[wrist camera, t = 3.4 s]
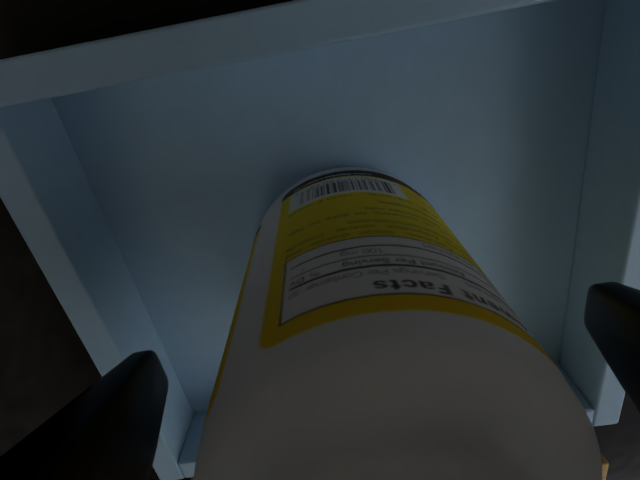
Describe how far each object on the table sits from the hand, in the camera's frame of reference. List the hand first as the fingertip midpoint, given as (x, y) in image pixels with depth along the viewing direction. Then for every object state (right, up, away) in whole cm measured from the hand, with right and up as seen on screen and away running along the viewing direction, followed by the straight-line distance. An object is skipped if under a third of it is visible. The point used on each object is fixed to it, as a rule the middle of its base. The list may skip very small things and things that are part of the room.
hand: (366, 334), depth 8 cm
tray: (0, +2, +4) cm, 4 cm away
